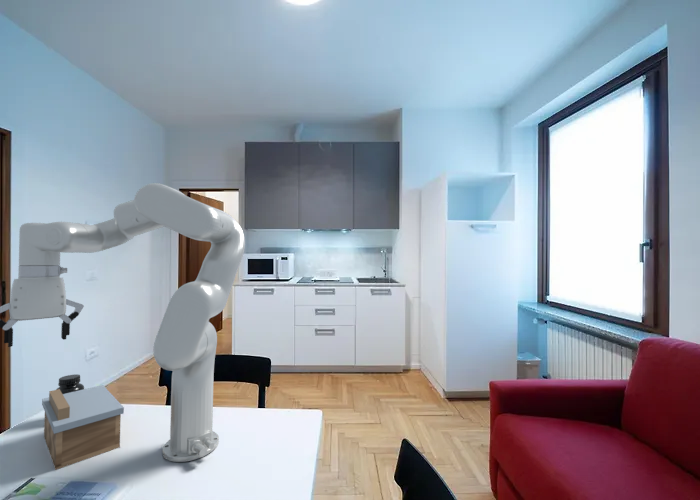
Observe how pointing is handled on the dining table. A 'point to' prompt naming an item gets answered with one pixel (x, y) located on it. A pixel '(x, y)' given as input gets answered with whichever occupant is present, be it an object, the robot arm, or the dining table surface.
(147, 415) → the dining table surface
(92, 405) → the toolbox lid
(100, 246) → the robot arm
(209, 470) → the dining table surface
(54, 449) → the toolbox
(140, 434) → the dining table surface
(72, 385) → the supplement bottle
